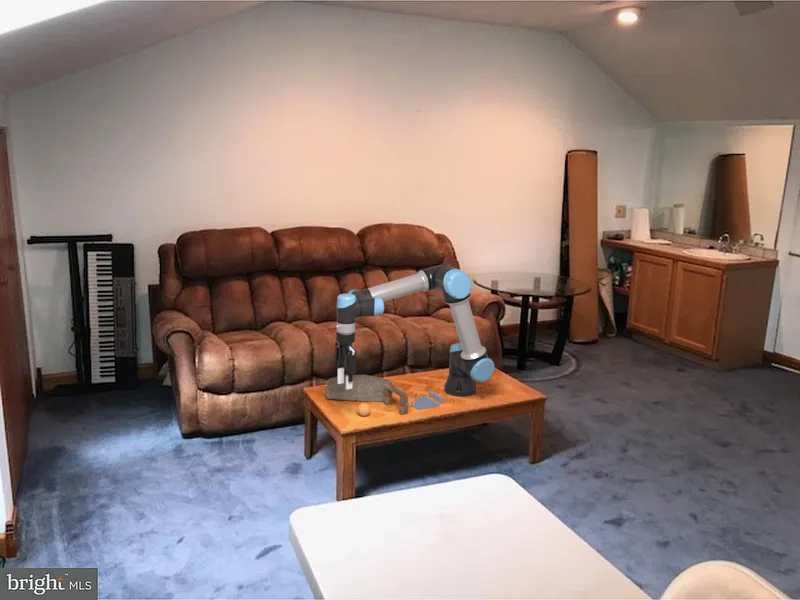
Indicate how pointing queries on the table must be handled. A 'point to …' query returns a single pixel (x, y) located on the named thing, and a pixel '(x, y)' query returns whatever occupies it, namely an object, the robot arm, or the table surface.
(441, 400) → the wall
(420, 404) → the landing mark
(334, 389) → the stone tablet
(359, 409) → the ball
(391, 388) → the bridge
